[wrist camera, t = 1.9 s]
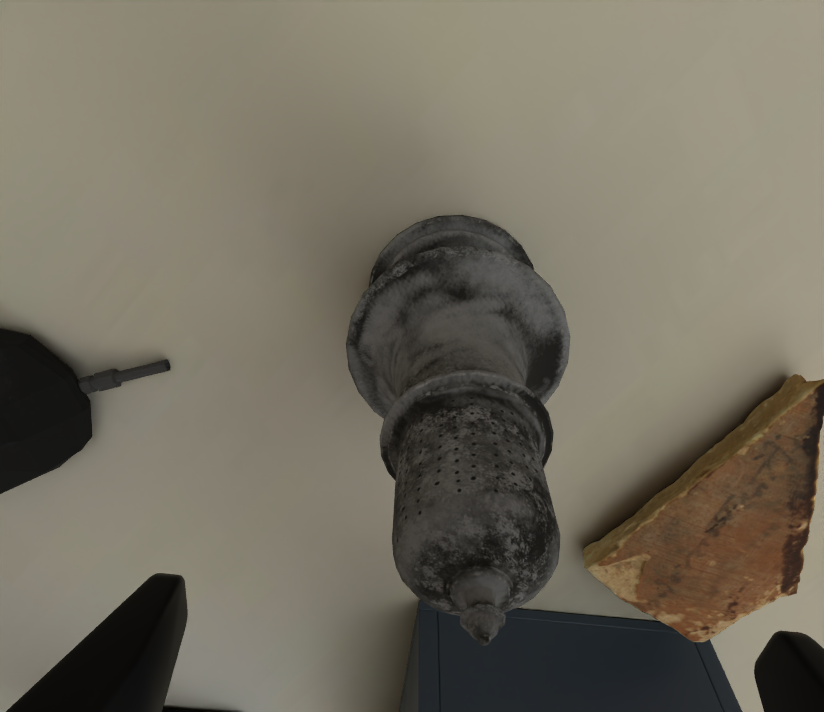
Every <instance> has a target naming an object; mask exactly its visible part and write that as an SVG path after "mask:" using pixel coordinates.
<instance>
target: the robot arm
mask: <svg viewBox="0 0 824 712" xmlns="http://www.w3.org/2000/svg"><path fill="white" fill-rule="evenodd" d="M187 616H188V609H187V599H186V588H185V581H184V578H183V577H182V576H181V575H174V574H164V573H157V574H155V575H153V576H151V577H150V578H149V579H148V580H147V581H146V582H144V583H143V584H142V585H141V586H140V587H139V588H138V589H137V590H136V591H135V592H134V593H133V594H132V595H131V596H129V597H128V598H127V599H126V600H125V601H124V602H123V603H122V604H121V605H120V606H119V607H118V608H117V609H115V610H114V611H113V612H112V613H111V614H110V615H109V616H108V617H107V618H106V619H105V620H104V621H103V622H102V623H100V624H99V625H98V626H97V627H96V628H95V629H94V630H93V631H92V632H91V633H90V634H89V635H88V636H87V637H85V638H84V639H83V640H82V641H81V642H80V643H79V644H78V645H77V646H76V647H75V648H74V649H73V650H72V651H70V652H69V653H68V654H67V655H66V656H65V657H64V658H63V659H62V660H61V661H60V662H59V663H58V664H56V665H55V666H54V667H53V668H52V669H51V670H50V671H49V672H48V673H47V674H46V675H45V676H44V677H43V678H41V679H40V680H39V681H38V682H37V683H36V684H35V685H34V686H33V687H32V688H31V689H30V690H29V691H28V692H26V693H25V694H24V695H23V696H22V697H21V698H20V699H19V700H18V701H17V702H16V703H15V704H14V705H13V706H11V707H10V708H9V709H8V710H7V711H6V712H196V711H184V710H172V709H163V706H164V702H165V698H166V695H167V691H168V688H169V684H170V681H171V677H172V674H173V670H174V667H175V663H176V660H177V656H178V652H179V649H180V645H181V642H182V638H183V635H184V631H185V627H186V623H187ZM754 674H755V680H756V684H757V688H758V691H759V695H760V698H761V702H762V705H763V709H764V712H824V648H822V647H821V646H820V645H819V644H818V643H817V642H816V641H814V640H813V639H812V638H811V637H809V636H808V635H806V634H803V633H799V632H788V631H778V632H776V633H775V634H774V635H773V636H772V637H771V639H770V640H769V642H768V643H767V645H766V647H765V648H764V650H763V651H762V653H761V654H760V656H759V657H758V659H757V661H756V663H755V669H754Z"/></svg>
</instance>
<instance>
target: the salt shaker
mask: <svg viewBox="0 0 824 712" xmlns="http://www.w3.org/2000/svg"><path fill="white" fill-rule="evenodd" d="M569 344H570V334H569V329H568V325H567V320H566V315H565V311H564V309H563V307H562V306H561V304H560V302H559V300H558V299H557V297H556V295H555V293H554V292H553V290H552V288H551V286H550V285H549V284H548V283H547V282H546V281H544V280H543V279H542V278H541V277H540V276H539V275H538V274H537V273H536V272H535V271H534V269H533V265H532V263H531V261H530V260H529V258H528V256H527V254H526V253H525V251H524V249H523V248H522V246H521V245H520V244H519V243H518V242H517V241H516V240H515V239H514V238H513V237H512V236H511V235H510V234H509V233H507V232H506V231H505V230H503V229H501V228H499V227H498V226H496V225H494V224H492V223H490V222H488V221H486V220H482V219H478V218H473V217H469V216H464V215H454V216H438V217H434V218H431V219H428V220H425V221H421V222H418V223H416V224H414V225H412V226H411V227H409V228H408V229H406V230H404V231H403V232H401V233H400V234H398V235H397V236H396V237H395V238H394V239H393V240H392V241H391V242H390V243H389V244H388V245H387V246H386V247H385V248H384V250H383V251H382V252H381V254H380V256H379V258H378V260H377V262H376V264H375V265H374V267H373V269H372V273H371V278H370V283H369V288H368V289H367V290H366V291H365V292H364V293H363V295H362V297H361V299H360V301H359V303H358V305H357V307H356V309H355V311H354V313H353V314H352V316H351V320H350V325H349V331H348V336H347V342H346V349H347V358H348V366H349V371H350V373H351V376H352V378H353V380H354V383H355V385H356V387H357V389H358V392H359V393H360V394H361V396H362V397H363V398H364V399H365V401H366V402H367V403H368V404H369V406H370V407H371V408H372V409H373V410H374V412H376V413H377V414H378V415H380V416H381V417H382V418H384V422H383V426H382V430H381V434H380V447H381V457H382V459H383V461H384V464H385V466H386V468H387V471H388V473H389V474H390V475H391V476H392V477H393V478H394V480H395V481H396V483H395V500H394V517H393V533H392V544H393V555H394V560H395V564H396V568H397V570H398V572H399V575H400V577H401V579H402V581H403V582H404V583H405V584H406V585H407V586H408V587H409V588H410V589H411V590H412V592H413V593H414V594H415V595H416V596H417V597H418V598H419V599H420V600H421V601H423V602H424V603H426V604H428V605H429V606H431V607H432V608H434V609H437V610H440V611H442V612H445V613H448V614H452V615H459V616H460V625H461V626H462V627H463V628H464V629H465V630H466V631H467V632H469V634H470V635H471V636H472V637H473V638H474V639H475V640H478V642H479V644H481V645H483V646H486V645H488V644H489V643H490V642H491V639H493V638H494V637H495V636H496V635H497V633H498V630H499V629H500V628H501V627H502V626H503V625H504V624H505V617H506V616H505V614H504V613H505V612H507V611H510V610H512V609H515V608H518V607H520V606H521V605H523V604H525V603H526V602H528V601H529V600H531V599H532V598H534V597H535V596H536V595H537V594H538V593H539V591H540V590H541V589H542V588H543V587H544V586H545V585H546V583H547V582H548V580H549V579H550V578H551V576H552V574H553V572H554V570H555V568H556V566H557V564H558V558H559V549H560V532H559V528H558V524H557V520H556V516H555V513H554V509H553V505H552V501H551V497H550V493H549V489H548V485H547V481H546V477H545V473H544V469H543V468H544V467H545V465H546V463H547V460H548V458H549V456H550V453H551V451H552V442H553V429H552V425H551V421H550V417H549V413H548V411H547V410H546V408H545V407H544V404H545V403H546V402H547V400H548V399H549V398H550V396H551V395H552V394H553V393H554V391H555V390H556V389H557V387H558V386H559V383H560V381H561V378H562V376H563V373H564V371H565V368H566V366H567V363H568V355H569Z"/></svg>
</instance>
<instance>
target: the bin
mask: <svg viewBox="0 0 824 712" xmlns="http://www.w3.org/2000/svg"><path fill="white" fill-rule="evenodd" d="M504 614H505V616H506V617H505V624H504V625H503V626H502V627H501V628H500V629H499V630H498V633H497V635H496V636H495V637H494V638H493V639H491V642H490V643H489V644H488V645H486V646H483V645H481V644H479V642H478V640H475V639H474V638H473V637H472V636H471V635H470V634H469V632H467V631H466V630H465V629H464V628H463V627H462V626H461V625H460V616H459V615H452V614H448V613H445V612H442V611H440V610H437V609H434V608H432V607H431V606H429V605H428V604H426V603H424V602H423V601H421V600H419V604H418V610H417V615H416V620H415V626H414V631H413V637H412V642H411V648H410V653H409V658H408V664H407V669H406V675H405V680H404V686H403V691H402V696H401V702H400V707H399V712H742V710H741V708H740V706H739V703H738V701H737V699H736V697H735V695H734V692H733V690H732V688H731V686H730V683H729V681H728V679H727V677H726V675H725V672H724V670H723V668H722V666H721V663H720V661H719V659H718V657H717V655H716V652H715V650H714V648H713V646H712V643H711V641H710V639H709V640H707V641H705V642H693V641H691V640H689V639H687V638H686V637H684V636H683V635H682V634H680V633H679V632H678V631H677V630H675V629H674V628H672V627H670V626H668V625H666V624H664V623H662V622H654V621H644V620H633V619H622V618H611V617H600V616H589V615H578V614H568V613H557V612H546V611H535V610H524V609H512V610H510V611H507V612H505V613H504Z"/></svg>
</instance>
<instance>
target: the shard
mask: <svg viewBox="0 0 824 712" xmlns="http://www.w3.org/2000/svg"><path fill="white" fill-rule="evenodd" d="M823 416H824V379H823V380H819V381H809V382H806V380H805V379H804V378H803V377H802V376H801V375H797V374H795V375H793V376H791V377H790V378H788V379H787V380H786V381H785V383H784V385H783V386H782V388H781V389H780V390H779V391H778V392H777V393H776V394H774V395H773V396H772V397H770V398H768V399H766V400H765V401H763V402H762V403H761V404H760V405H758V406H757V407H756V408H755V409H754V410H753V411H752V412H751V413H750V415H749V416H748V417H747V418H746V420H745V422H744V423H743V424H741V425H739V426H738V427H737V428H736V429H735V430H733V431H732V432H731V433H729V434H728V435H727V436H726V437H725V438H724V439H723V440H722V441H721V442H719V443H717V444H715V445H714V447H713V448H711V449H710V450H709V451H708V452H706V453H705V454H704V455H703V456H701V457H700V458H699V459H698V460H697V461H696V462H695V463H694V464H693V465H692V466H691V467H690V468H689V469H688V470H687V471H686V472H685V473H684V474H683V475H682V476H681V477H680V478H679V479H678V480H677V481H675V482H674V483H673V484H671V485H670V486H668V487H666V488H665V489H664V490H663V491H661V492H659V493H657V494H656V495H655V496H654V497H653V498H652V499H651V500H650V501H648V502H647V503H646V504H645V505H644V506H643V507H642V508H641V509H640V510H639V511H638V512H637V513H636V514H635V515H634V516H633V517H631V518H629V519H627V520H626V521H625V522H624V523H622V524H621V525H620V526H619V527H617V528H615V529H613V530H612V531H611V532H609V533H608V534H607V535H606V536H604V537H603V538H602V539H601V540H600V541H597V542H593V543H591V544H589V545H588V546H587V547H585V548H584V550H583V556H584V558H583V563H584V567H585V568H586V569H587V570H588V571H589V572H590V573H591V574H592V575H593V576H594V577H595V578H596V579H597V580H599V581H600V582H602V583H603V584H605V585H606V587H608V588H609V589H611V590H612V591H613V592H614V593H615V594H616V595H617V596H618V597H619V598H621V599H622V600H623V601H625V602H628V603H630V604H631V605H633V606H635V607H636V608H638V609H639V610H641V611H642V612H644V613H649V614H650V615H652V616H653V617H654V618H655V619H658V620H660V621H661V622H662V623H664V624H666V625H668V626H670V627H672V628H674V629H675V630H677V631H678V632H679V633H680V634H682V635H683V636H684V637H686V638H687V639H689V640H691V641H693V642H705V641H707V640H709V639H710V638H712V637H714V636H715V635H717V634H719V633H720V632H721V631H723V630H724V629H726V628H727V627H729V626H730V625H732V624H734V623H735V622H736V621H738V620H739V619H740V618H742V617H744V616H746V615H748V614H750V613H751V612H753V611H755V610H758V609H760V608H762V607H763V606H765V605H766V604H767V603H771V602H773V601H775V600H776V599H778V598H779V597H783V596H789V595H793V594H796V593H797V588H798V583H799V582H800V573H801V571H802V569H803V563H804V554H803V547H804V546H805V545H806V543H807V541H808V534H809V525H810V522H811V518H812V515H813V511H814V505H815V495H816V491H817V487H816V486H817V479H818V465H819V451H820V450H819V437H820V430H821V428H822V424H823Z"/></svg>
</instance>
